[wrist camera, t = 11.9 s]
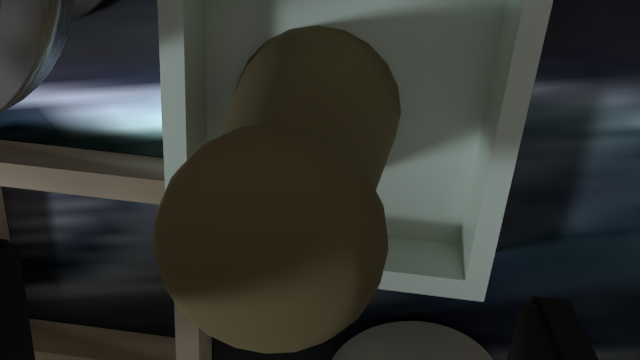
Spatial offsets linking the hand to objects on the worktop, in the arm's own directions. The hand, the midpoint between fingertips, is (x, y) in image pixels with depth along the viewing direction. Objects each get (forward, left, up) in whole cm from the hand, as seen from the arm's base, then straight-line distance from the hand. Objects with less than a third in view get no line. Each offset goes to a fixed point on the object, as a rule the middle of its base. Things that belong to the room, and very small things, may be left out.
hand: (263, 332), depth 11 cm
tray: (0, -1, -13) cm, 13 cm away
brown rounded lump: (0, 0, -12) cm, 12 cm away
